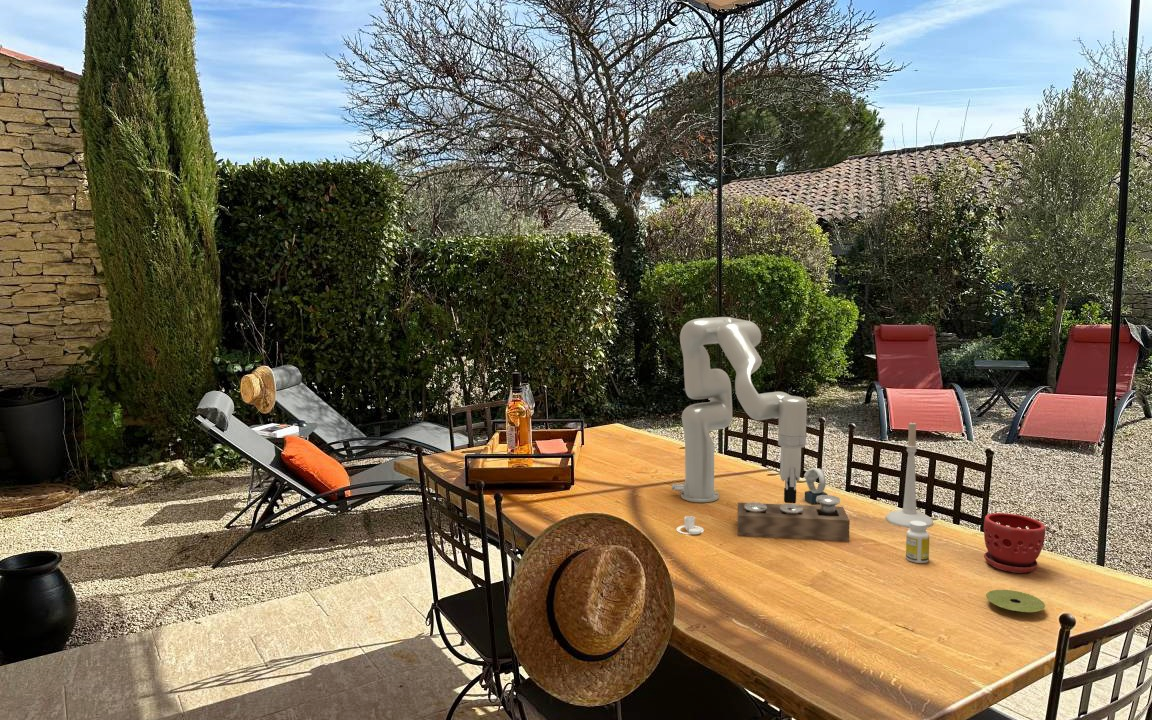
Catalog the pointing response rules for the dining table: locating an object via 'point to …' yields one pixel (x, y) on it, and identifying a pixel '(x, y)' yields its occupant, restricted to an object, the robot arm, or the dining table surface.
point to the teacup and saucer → (690, 526)
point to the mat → (1015, 600)
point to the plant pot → (1013, 542)
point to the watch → (810, 479)
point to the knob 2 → (827, 504)
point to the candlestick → (909, 489)
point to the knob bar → (794, 523)
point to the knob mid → (791, 509)
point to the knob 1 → (755, 507)
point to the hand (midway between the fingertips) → (789, 502)
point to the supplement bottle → (917, 542)
